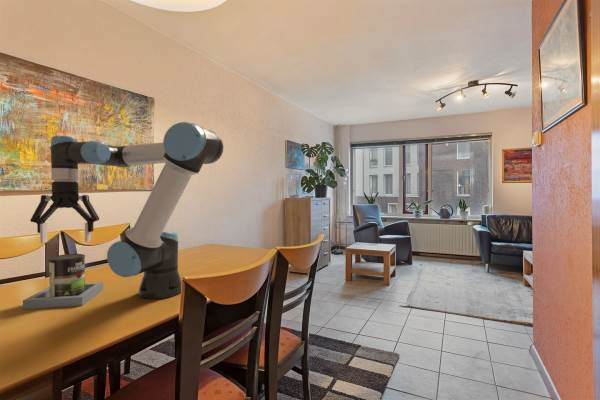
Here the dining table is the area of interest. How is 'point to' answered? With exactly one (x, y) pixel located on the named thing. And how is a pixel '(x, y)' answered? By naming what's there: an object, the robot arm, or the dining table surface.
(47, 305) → the grey square tray
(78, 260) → the coffee can
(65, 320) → the dining table surface
